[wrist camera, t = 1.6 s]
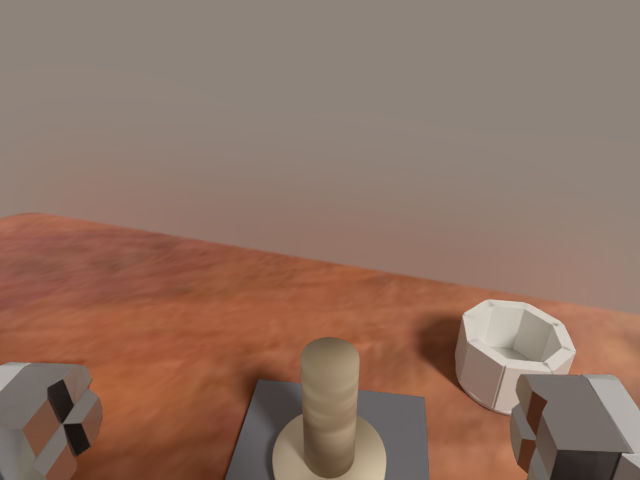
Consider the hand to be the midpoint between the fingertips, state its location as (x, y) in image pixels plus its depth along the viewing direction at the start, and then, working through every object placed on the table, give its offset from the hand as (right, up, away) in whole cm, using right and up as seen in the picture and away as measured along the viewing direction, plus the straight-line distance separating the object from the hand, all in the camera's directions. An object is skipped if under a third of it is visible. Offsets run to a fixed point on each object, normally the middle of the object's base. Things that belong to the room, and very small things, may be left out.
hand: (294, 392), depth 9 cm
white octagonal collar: (+14, -7, +26) cm, 30 cm away
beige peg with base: (+1, -11, +20) cm, 22 cm away
